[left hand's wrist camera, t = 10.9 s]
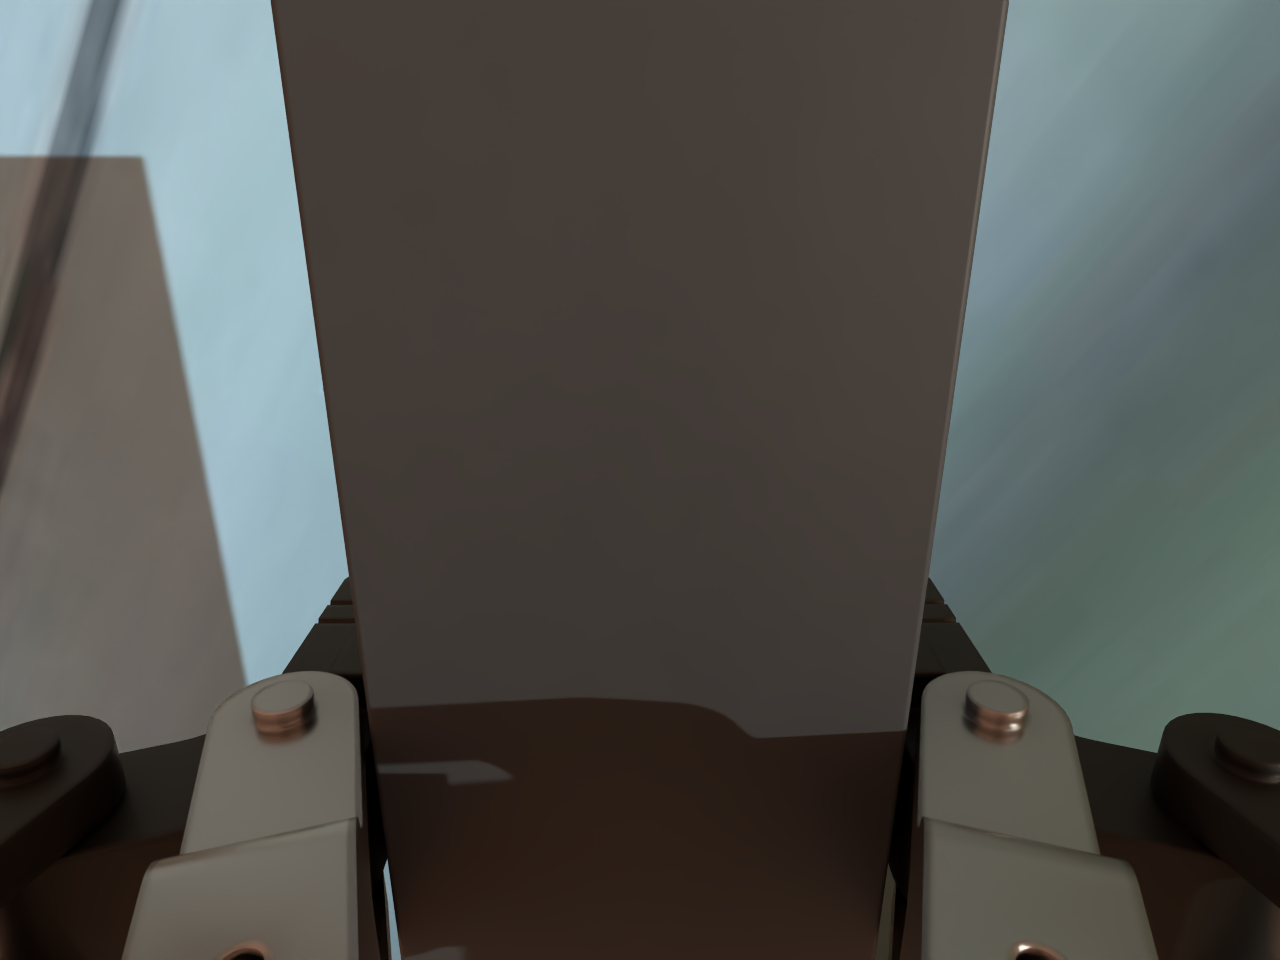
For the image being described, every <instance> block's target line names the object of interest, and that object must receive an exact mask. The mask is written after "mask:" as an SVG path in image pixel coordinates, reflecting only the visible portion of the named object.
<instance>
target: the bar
mask: <svg viewBox="0 0 1280 960" xmlns="http://www.w3.org/2000/svg"><path fill="white" fill-rule="evenodd" d="M1008 5H1009V1H1008V0H271V7H272V14H273V21H274V29H275V36H276V43H277V51H278V58H279V65H280V73H281V80H282V87H283V95H284V102H285V109H286V117H287V124H288V131H289V139H290V146H291V153H292V161H293V168H294V175H295V183H296V190H297V197H298V205H299V212H300V219H301V227H302V234H303V241H304V249H305V256H306V264H307V271H308V278H309V286H310V293H311V300H312V308H313V315H314V322H315V330H316V337H317V344H318V352H319V359H320V366H321V374H322V381H323V388H324V396H325V403H326V410H327V418H328V425H329V432H330V440H331V447H332V454H333V462H334V469H335V476H336V484H337V491H338V498H339V506H340V513H341V520H342V528H343V535H344V542H345V550H346V557H347V564H348V572H349V579H350V586H351V594H352V601H353V609H354V616H355V623H356V631H357V638H358V645H359V653H360V660H361V667H362V675H363V682H364V689H365V697H366V704H367V711H368V719H369V726H370V733H371V741H372V748H373V755H374V763H375V770H376V777H377V785H378V792H379V799H380V807H381V814H382V821H383V829H384V836H385V843H386V851H387V858H388V865H389V873H390V880H391V887H392V895H393V902H394V909H395V917H396V924H397V931H398V939H399V946H400V954H401V960H874V959H875V952H876V945H877V938H878V931H879V924H880V917H881V910H882V903H883V895H884V888H885V881H886V874H887V867H888V860H889V853H890V846H891V838H892V831H893V824H894V817H895V810H896V803H897V796H898V789H899V781H900V774H901V767H902V760H903V753H904V746H905V739H906V732H907V724H908V717H909V710H910V703H911V696H912V689H913V682H914V675H915V668H916V660H917V653H918V646H919V639H920V632H921V625H922V618H923V611H924V603H925V596H926V589H927V582H928V575H929V568H930V561H931V554H932V546H933V539H934V532H935V525H936V518H937V511H938V504H939V497H940V490H941V482H942V475H943V468H944V461H945V454H946V447H947V440H948V433H949V425H950V418H951V411H952V404H953V397H954V390H955V383H956V376H957V368H958V361H959V354H960V347H961V340H962V333H963V326H964V319H965V311H966V304H967V297H968V290H969V283H970V276H971V269H972V262H973V255H974V247H975V240H976V233H977V226H978V219H979V212H980V205H981V198H982V190H983V183H984V176H985V169H986V162H987V155H988V148H989V141H990V133H991V126H992V119H993V112H994V105H995V98H996V91H997V84H998V76H999V69H1000V62H1001V55H1002V48H1003V41H1004V34H1005V27H1006V20H1007V12H1008Z"/></svg>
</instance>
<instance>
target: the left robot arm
mask: <svg viewBox="0 0 1280 960" xmlns="http://www.w3.org/2000/svg"><path fill="white" fill-rule="evenodd" d="M386 861H387V851H386V843H385V836H384V829H383V821H382V814H381V807H380V799H379V792H378V785H377V777H376V770H375V763H374V755H373V748H372V741H371V733H370V726H369V719H368V711H367V704H366V697H365V689H364V682H363V675H362V667H361V660H360V653H359V645H358V638H357V631H356V623H355V616H354V609H353V601H352V594H351V586H350V579H349V577H348V578H346V579H345V580H344V581H343V583H342V584H341V586H340V587H339V589H338V590H337V592H336V593H335V595H334V596H333V598H332V599H331V604H330V605H327V607H326V608H325V610H324V611H323V613H322V614H321V616H320V617H319V622H318V623H315V625H314V626H313V628H312V629H311V631H310V632H309V634H308V635H307V637H306V638H305V640H304V641H303V643H302V644H301V646H300V647H299V649H298V650H297V652H296V653H295V655H294V656H293V658H292V659H291V661H290V662H289V664H288V665H287V667H286V668H285V670H284V671H283V673H282V674H281V675H276V676H273V677H270V678H266V679H263V680H261V681H258V682H256V683H253V684H251V685H249V686H247V687H245V688H243V689H241V690H240V691H238V692H236V693H235V694H233V695H232V696H230V697H229V698H228V699H227V700H226V701H224V702H223V703H222V704H221V705H220V706H219V707H218V708H217V709H216V711H215V712H214V714H213V715H212V717H211V719H210V722H209V724H208V728H207V733H206V734H205V735H202V736H198V737H195V738H192V739H188V740H184V741H179V742H175V743H170V744H165V745H160V746H155V747H150V748H145V749H140V750H135V751H130V752H125V753H120V754H119V753H118V749H117V746H116V742H115V738H114V735H113V732H112V730H111V728H110V727H109V726H108V725H107V724H106V723H105V722H103V721H101V720H99V719H96V718H93V717H89V716H81V715H64V716H54V717H48V718H42V719H38V720H34V721H30V722H26V723H23V724H20V725H17V726H14V727H11V728H8V729H6V730H3V731H1V732H0V960H392V958H391V942H390V927H389V911H388V900H387V893H386V886H385V879H384V872H383V869H384V867H385V864H386ZM888 864H889V867H890V869H891V872H892V875H893V878H894V880H895V886H894V893H893V900H892V911H891V927H890V942H889V958H888V960H1280V731H1279V730H1276V729H1274V728H1272V727H1269V726H1267V725H1264V724H1261V723H1258V722H1255V721H1252V720H1248V719H1244V718H1240V717H1236V716H1231V715H1225V714H1216V713H1193V714H1186V715H1183V716H1179V717H1177V718H1175V719H1173V720H1171V721H1170V722H1169V723H1168V724H1167V725H1166V726H1165V729H1164V732H1163V735H1162V738H1161V742H1160V746H1159V749H1158V753H1154V752H1149V751H1144V750H1139V749H1134V748H1129V747H1124V746H1119V745H1114V744H1109V743H1104V742H1099V741H1095V740H1090V739H1086V738H1082V737H1078V736H1075V735H1074V733H1073V728H1072V724H1071V722H1070V719H1069V717H1068V715H1067V714H1066V712H1065V711H1064V709H1063V708H1062V707H1061V706H1060V705H1059V704H1058V703H1057V702H1056V701H1054V700H1053V699H1052V698H1051V697H1050V696H1048V695H1047V694H1045V693H1044V692H1042V691H1040V690H1039V689H1037V688H1035V687H1033V686H1031V685H1029V684H1027V683H1024V682H1022V681H1019V680H1017V679H1014V678H1010V677H1007V676H1004V675H999V674H994V673H992V672H991V671H990V669H989V668H988V666H987V665H986V663H985V662H984V660H983V659H982V657H981V656H980V654H979V652H978V651H977V649H976V648H975V646H974V645H973V643H972V642H971V640H970V639H969V637H968V636H967V634H966V633H965V631H964V630H963V628H962V627H961V625H960V623H956V617H955V616H954V614H953V613H952V611H951V610H950V608H949V607H948V605H947V604H944V599H943V598H942V596H941V595H940V593H939V591H938V590H937V588H936V587H935V585H934V584H933V582H932V581H931V579H930V578H928V582H927V589H926V596H925V603H924V611H923V618H922V625H921V632H920V639H919V646H918V653H917V660H916V668H915V675H914V682H913V689H912V696H911V703H910V710H909V717H908V724H907V732H906V739H905V746H904V753H903V760H902V767H901V774H900V781H899V789H898V796H897V803H896V810H895V817H894V824H893V831H892V838H891V846H890V853H889V860H888Z"/></svg>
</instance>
